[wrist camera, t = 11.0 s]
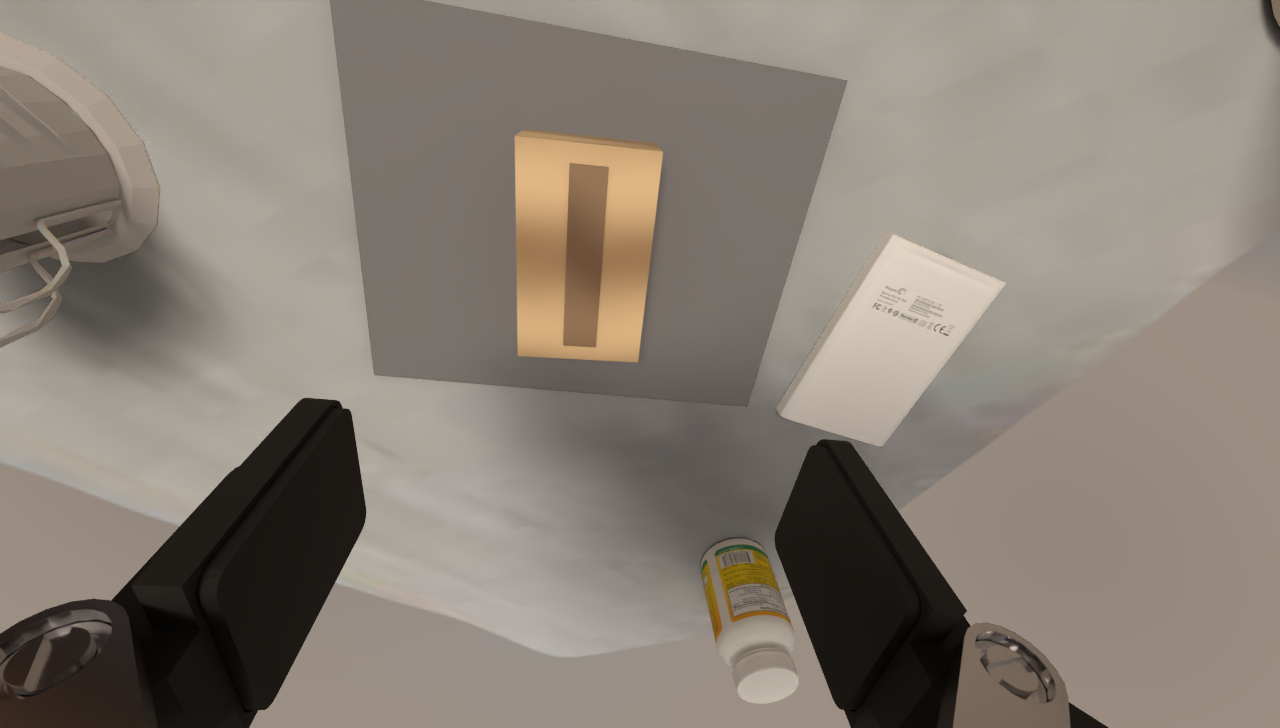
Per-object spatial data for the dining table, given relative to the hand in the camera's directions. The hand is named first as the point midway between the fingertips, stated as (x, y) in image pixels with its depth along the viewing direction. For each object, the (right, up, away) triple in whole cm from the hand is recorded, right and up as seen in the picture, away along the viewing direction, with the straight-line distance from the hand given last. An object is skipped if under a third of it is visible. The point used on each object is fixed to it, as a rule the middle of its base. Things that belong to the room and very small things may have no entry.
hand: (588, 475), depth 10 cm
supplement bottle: (+8, -13, +30) cm, 33 cm away
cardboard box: (-2, +8, +15) cm, 17 cm away
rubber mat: (-2, +9, +16) cm, 18 cm away
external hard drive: (+16, +4, +21) cm, 27 cm away
